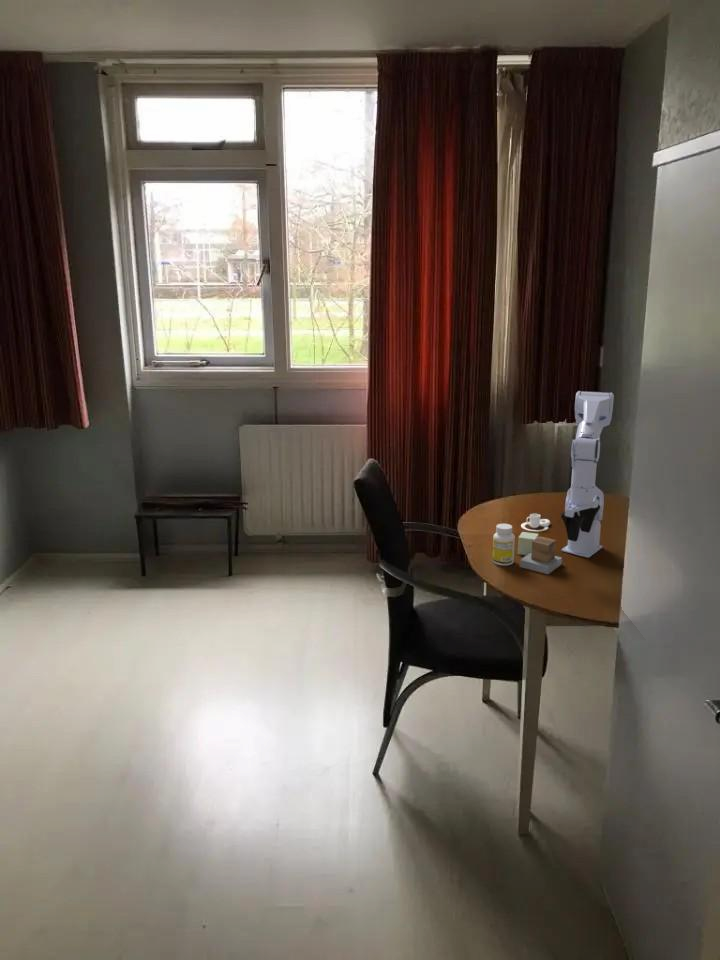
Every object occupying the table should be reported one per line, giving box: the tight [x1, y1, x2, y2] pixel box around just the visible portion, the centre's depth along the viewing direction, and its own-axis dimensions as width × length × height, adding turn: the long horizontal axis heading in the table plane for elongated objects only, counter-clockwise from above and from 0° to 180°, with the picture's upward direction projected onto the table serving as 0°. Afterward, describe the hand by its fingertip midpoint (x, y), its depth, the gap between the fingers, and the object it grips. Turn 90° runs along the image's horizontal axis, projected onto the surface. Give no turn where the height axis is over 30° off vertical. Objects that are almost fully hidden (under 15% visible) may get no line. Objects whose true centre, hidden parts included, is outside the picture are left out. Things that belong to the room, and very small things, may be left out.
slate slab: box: [519, 552, 563, 575], centre depth 203 cm, size 8×8×2 cm
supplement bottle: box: [492, 523, 516, 566], centre depth 204 cm, size 6×6×10 cm
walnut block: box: [531, 536, 557, 563], centre depth 202 cm, size 4×4×5 cm
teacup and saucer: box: [520, 513, 551, 532], centre depth 230 cm, size 9×8×4 cm
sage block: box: [517, 531, 539, 556], centre depth 211 cm, size 4×4×5 cm
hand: (578, 535), depth 196 cm, fingers open, 7 cm apart
